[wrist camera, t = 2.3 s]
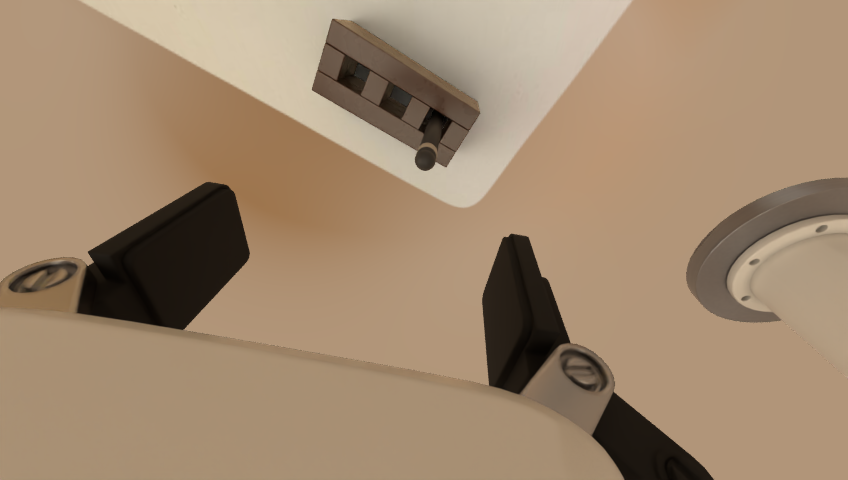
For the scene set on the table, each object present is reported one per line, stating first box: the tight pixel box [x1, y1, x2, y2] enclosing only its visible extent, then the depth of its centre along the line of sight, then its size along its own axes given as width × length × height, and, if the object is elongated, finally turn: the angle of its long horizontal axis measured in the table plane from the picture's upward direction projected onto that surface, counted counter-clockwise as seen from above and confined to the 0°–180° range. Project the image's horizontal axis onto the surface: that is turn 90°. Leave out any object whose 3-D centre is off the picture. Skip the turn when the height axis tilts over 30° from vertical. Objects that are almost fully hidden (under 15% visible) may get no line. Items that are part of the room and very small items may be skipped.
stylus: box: [415, 109, 444, 171], centre depth 22 cm, size 1×1×13 cm
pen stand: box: [312, 19, 480, 167], centre depth 25 cm, size 5×12×4 cm, turn 61°
